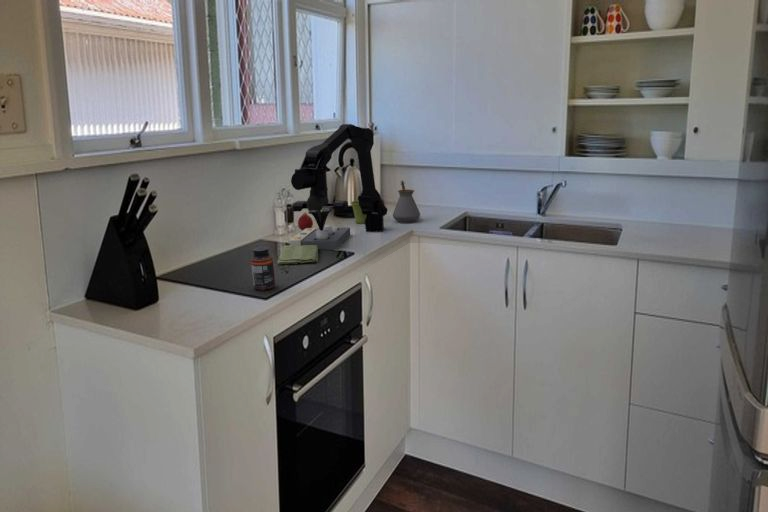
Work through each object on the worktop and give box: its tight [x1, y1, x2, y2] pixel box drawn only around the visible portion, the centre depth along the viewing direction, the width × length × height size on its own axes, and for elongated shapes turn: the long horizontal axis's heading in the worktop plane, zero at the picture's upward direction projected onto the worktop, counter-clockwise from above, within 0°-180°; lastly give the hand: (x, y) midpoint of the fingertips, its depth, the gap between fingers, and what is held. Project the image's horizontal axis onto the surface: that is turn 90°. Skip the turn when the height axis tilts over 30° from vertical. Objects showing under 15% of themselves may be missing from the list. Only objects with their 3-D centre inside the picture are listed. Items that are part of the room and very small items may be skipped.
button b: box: [324, 224, 333, 236], centre depth 217 cm, size 4×4×4 cm
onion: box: [297, 212, 314, 232], centre depth 234 cm, size 6×6×8 cm
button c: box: [316, 229, 328, 240], centre depth 210 cm, size 4×4×4 cm
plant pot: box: [350, 199, 366, 225], centre depth 249 cm, size 9×9×9 cm
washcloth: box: [277, 244, 319, 266], centre depth 197 cm, size 13×18×3 cm
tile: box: [288, 227, 317, 246], centre depth 219 cm, size 4×20×3 cm, turn 170°
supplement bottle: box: [250, 246, 276, 291], centre depth 166 cm, size 6×6×11 cm
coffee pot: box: [392, 180, 421, 224], centre depth 252 cm, size 21×12×15 cm, turn 3°
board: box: [302, 227, 351, 250], centre depth 217 cm, size 12×22×3 cm, turn 170°
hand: (321, 230), depth 210 cm, fingers closed
